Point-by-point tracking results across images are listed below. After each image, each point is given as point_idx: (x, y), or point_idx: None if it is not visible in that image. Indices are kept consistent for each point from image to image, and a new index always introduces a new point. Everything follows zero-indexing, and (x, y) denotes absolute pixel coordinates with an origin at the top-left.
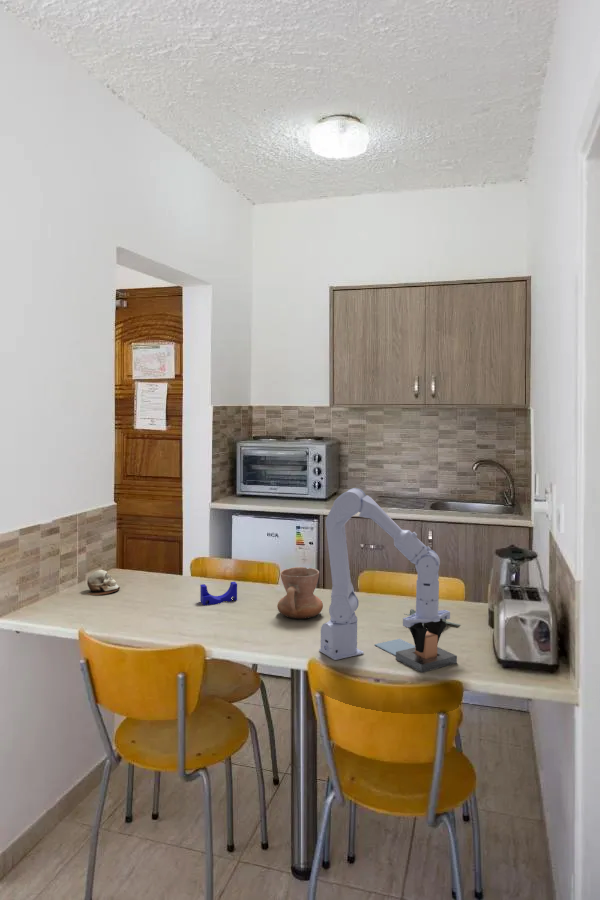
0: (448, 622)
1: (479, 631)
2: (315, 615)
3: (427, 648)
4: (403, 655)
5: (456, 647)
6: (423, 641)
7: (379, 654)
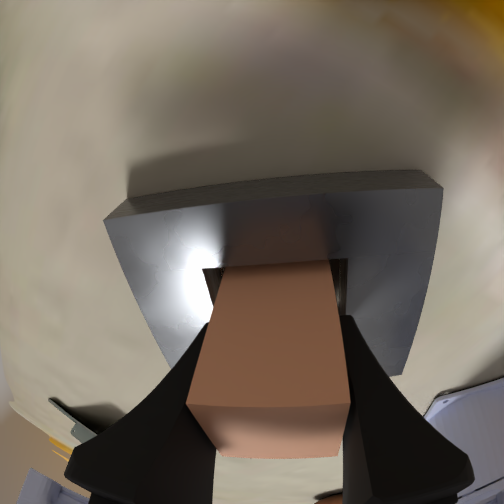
0: (71, 418)
1: (12, 361)
2: (342, 496)
3: (320, 320)
4: (412, 337)
5: (75, 332)
6: (363, 377)
7: (399, 388)
